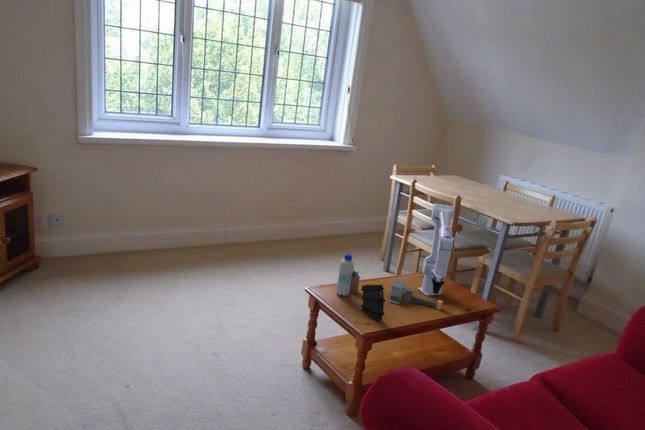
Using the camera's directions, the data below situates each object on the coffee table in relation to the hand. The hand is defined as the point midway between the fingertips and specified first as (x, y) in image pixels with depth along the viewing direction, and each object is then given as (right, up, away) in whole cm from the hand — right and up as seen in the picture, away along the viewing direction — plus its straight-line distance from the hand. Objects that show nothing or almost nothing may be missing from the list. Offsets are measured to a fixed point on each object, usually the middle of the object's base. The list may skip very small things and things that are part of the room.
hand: (435, 290), depth 222 cm
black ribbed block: (-31, -8, -12) cm, 35 cm away
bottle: (-43, -2, +3) cm, 43 cm away
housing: (-17, -4, +8) cm, 19 cm away
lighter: (-39, -1, +9) cm, 40 cm away
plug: (-5, -7, +4) cm, 10 cm away
